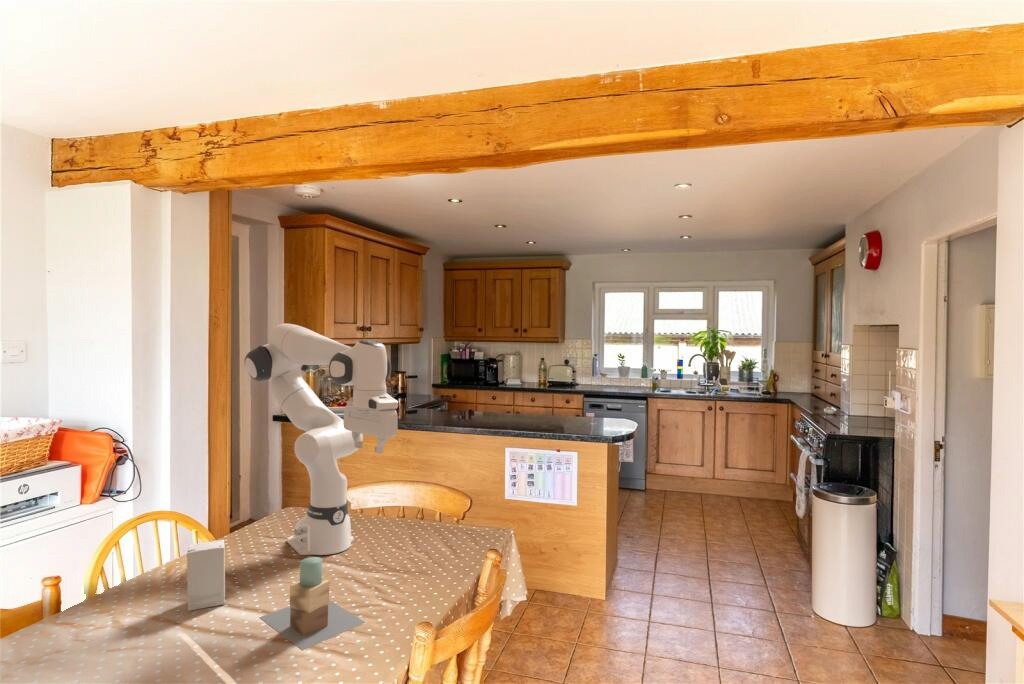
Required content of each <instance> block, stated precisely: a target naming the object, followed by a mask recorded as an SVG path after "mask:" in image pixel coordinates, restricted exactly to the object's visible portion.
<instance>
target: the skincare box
mask: <svg viewBox="0 0 1024 684" xmlns="http://www.w3.org/2000/svg"><path fill="white" fill-rule="evenodd" d="M225 549H226V546H225V539H218V540H212V541H207V542H206V541H205V542H198V543H191V544H189V545H188V549H187V553H186V558H187V559H186V568H187V569H186V572H187V574H186V575H187V581H186V582H187V611H188V612H189V611H195V610H201V609H204V608H205V609H206V608H210V607H211V608H212V607H216V606H217V607H218V606H221V605H224V604H225V600H226V599H225V598H226V573H225V572H226V565H225V564H226V560H225V558H226V557H225V556H226V551H225Z"/></svg>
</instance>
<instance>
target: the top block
mask: <svg viewBox="0 0 1024 684" xmlns="http://www.w3.org/2000/svg"><path fill="white" fill-rule="evenodd" d="M289 587H290V588H289V606H290V607H291V608H294V609H297V610H300V611H303V612H307V613H311V612H312V611H314V610H316V609H318V608H319V607H321V606H323V605H325V604H326V603H328V602H329V600H330V580H328V579H325V578H322V582H321V584H319V585H317V586H314V587H302V586H300V580H298V581H296V582H294V583H292V584H290V585H289Z"/></svg>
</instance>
